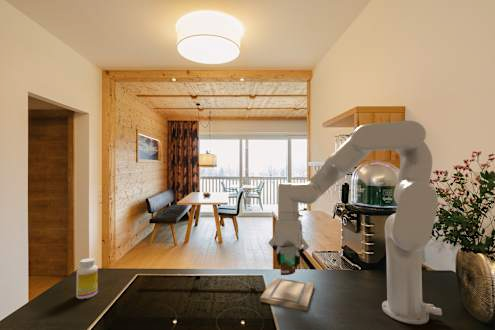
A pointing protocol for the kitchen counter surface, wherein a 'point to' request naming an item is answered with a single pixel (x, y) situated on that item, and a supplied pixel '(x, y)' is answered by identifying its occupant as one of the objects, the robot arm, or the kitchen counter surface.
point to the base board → (288, 293)
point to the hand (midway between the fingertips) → (288, 264)
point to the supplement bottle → (87, 279)
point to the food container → (288, 260)
